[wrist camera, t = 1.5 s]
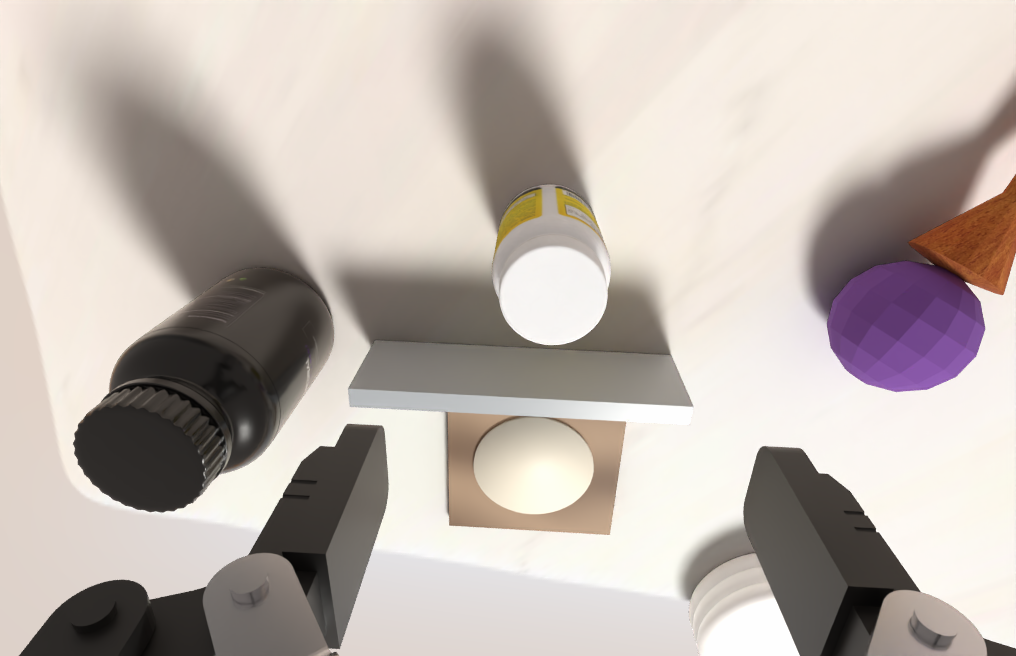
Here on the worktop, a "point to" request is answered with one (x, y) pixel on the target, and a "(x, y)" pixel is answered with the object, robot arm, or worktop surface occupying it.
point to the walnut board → (533, 472)
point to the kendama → (926, 302)
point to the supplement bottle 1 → (205, 390)
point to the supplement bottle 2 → (550, 266)
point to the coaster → (738, 613)
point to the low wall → (521, 382)
